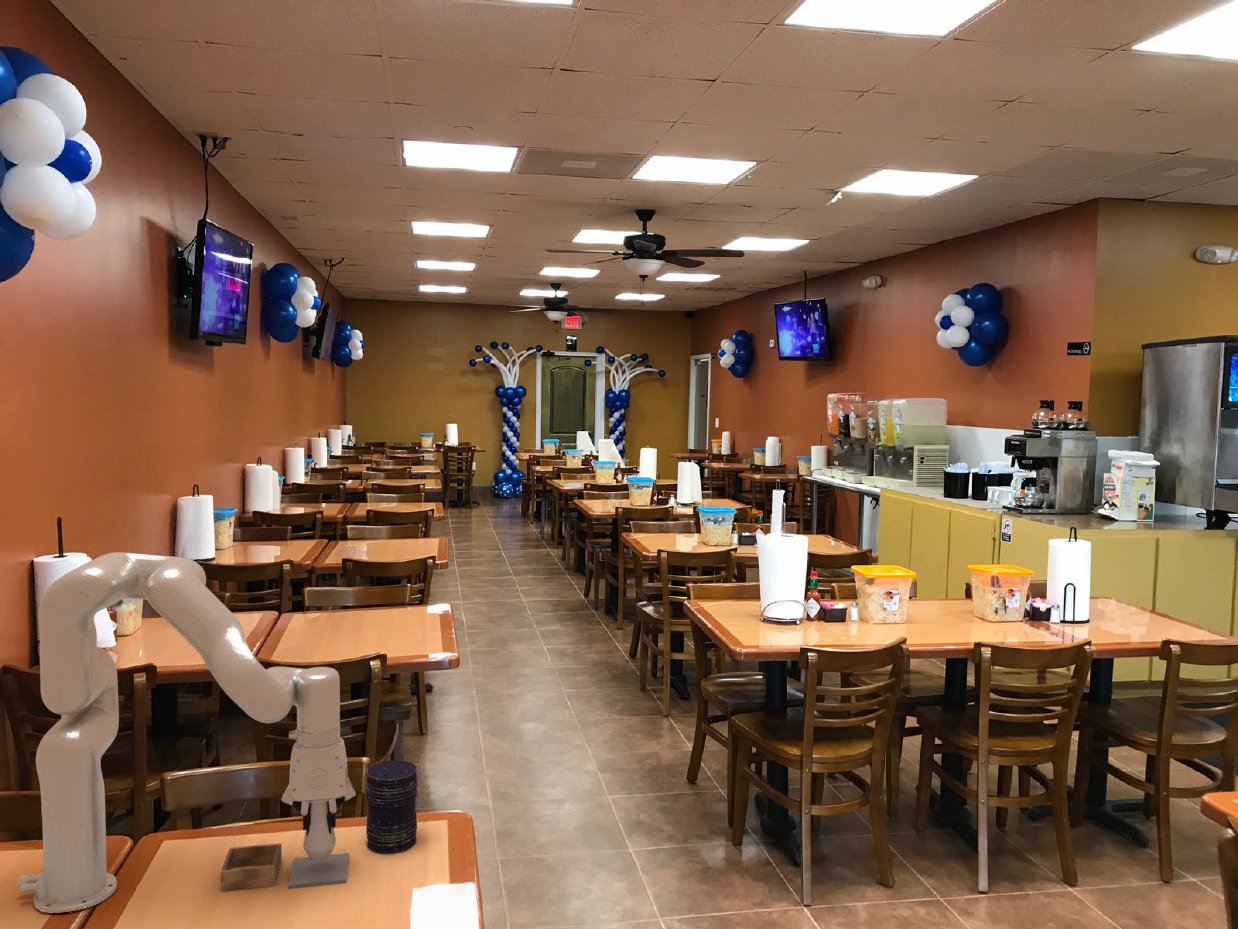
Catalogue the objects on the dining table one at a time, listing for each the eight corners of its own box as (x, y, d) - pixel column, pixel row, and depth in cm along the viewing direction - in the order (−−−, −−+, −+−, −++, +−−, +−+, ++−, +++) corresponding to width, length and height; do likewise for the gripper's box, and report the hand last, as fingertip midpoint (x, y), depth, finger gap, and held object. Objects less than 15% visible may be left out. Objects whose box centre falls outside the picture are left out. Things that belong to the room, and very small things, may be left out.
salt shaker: (325, 865, 167) (325, 796, 166) (297, 861, 168) (296, 792, 167) (341, 849, 173) (341, 782, 172) (313, 846, 174) (313, 780, 173)
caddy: (220, 891, 163) (220, 872, 163) (229, 865, 172) (229, 847, 172) (275, 886, 166) (274, 867, 165) (281, 861, 174) (281, 843, 174)
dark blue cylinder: (380, 828, 188) (380, 758, 187) (425, 834, 186) (425, 762, 185) (357, 851, 179) (356, 777, 178) (403, 857, 177) (404, 782, 176)
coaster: (288, 888, 165) (288, 885, 165) (294, 861, 174) (294, 858, 174) (345, 882, 167) (345, 879, 167) (348, 856, 177) (348, 853, 177)
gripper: (268, 746, 163) (270, 846, 165) (363, 740, 167) (364, 837, 168) (274, 731, 171) (275, 827, 172) (365, 725, 174) (365, 819, 176)
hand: (319, 831), depth 170 cm, fingers closed on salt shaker, 3 cm apart
